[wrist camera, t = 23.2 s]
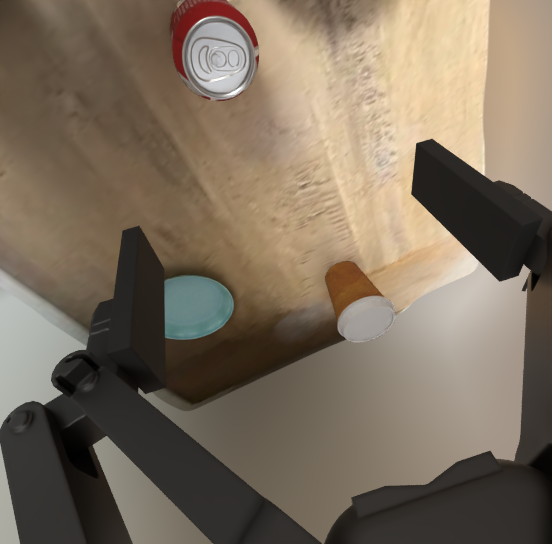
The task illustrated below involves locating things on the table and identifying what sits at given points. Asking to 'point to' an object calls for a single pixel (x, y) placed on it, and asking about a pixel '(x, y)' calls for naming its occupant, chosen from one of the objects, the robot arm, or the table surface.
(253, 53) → the soda can
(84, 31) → the table surface
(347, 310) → the disposable coffee cup
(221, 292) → the saucer
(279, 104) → the table surface
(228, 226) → the table surface
